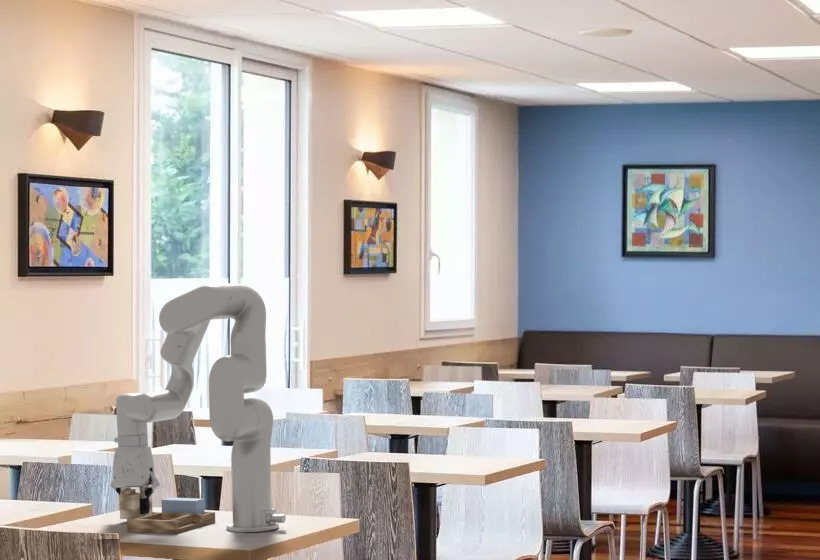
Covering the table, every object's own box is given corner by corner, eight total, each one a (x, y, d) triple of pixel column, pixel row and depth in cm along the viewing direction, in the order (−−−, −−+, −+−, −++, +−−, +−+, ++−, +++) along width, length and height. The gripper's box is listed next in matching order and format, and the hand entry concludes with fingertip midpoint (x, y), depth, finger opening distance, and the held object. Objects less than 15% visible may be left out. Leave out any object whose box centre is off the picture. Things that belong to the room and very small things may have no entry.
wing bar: (204, 518, 359) (204, 498, 359) (196, 521, 356) (195, 501, 356) (170, 517, 363) (170, 497, 363) (161, 519, 359) (161, 499, 360)
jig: (215, 522, 360) (215, 510, 360) (176, 533, 343) (176, 521, 343) (167, 520, 365) (167, 508, 365) (127, 531, 349) (126, 519, 349)
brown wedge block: (152, 514, 368) (151, 486, 368) (133, 519, 360) (132, 490, 360) (138, 514, 370) (136, 486, 370) (118, 519, 362) (117, 490, 362)
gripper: (96, 443, 365) (100, 515, 365) (152, 442, 359) (156, 516, 359) (113, 440, 372) (117, 511, 372) (169, 439, 366) (172, 511, 365)
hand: (136, 512), depth 365 cm, fingers closed on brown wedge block, 4 cm apart
